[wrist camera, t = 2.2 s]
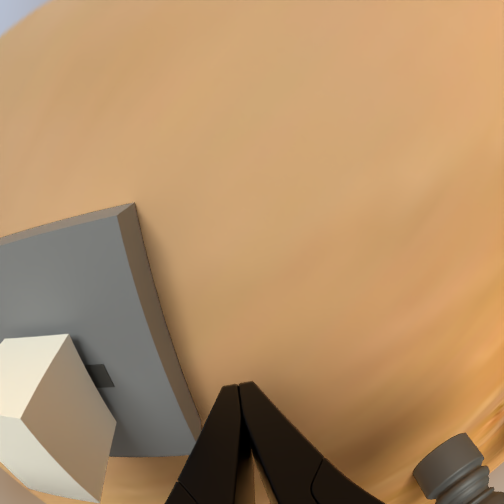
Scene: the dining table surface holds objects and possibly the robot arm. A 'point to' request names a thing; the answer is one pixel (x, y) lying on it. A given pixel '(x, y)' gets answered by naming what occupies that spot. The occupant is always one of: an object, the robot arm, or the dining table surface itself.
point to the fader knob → (52, 418)
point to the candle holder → (456, 474)
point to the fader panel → (103, 322)
